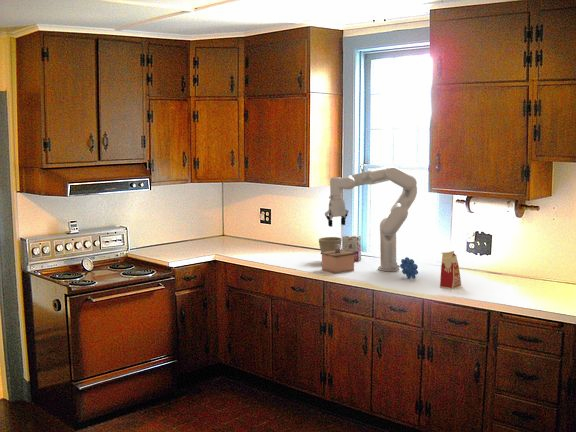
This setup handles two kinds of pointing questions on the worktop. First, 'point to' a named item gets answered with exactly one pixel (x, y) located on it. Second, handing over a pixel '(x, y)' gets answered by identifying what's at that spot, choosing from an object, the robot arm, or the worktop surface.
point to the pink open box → (338, 264)
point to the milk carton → (450, 271)
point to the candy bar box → (353, 245)
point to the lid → (337, 252)
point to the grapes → (409, 267)
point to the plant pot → (329, 243)
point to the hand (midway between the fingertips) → (336, 225)
